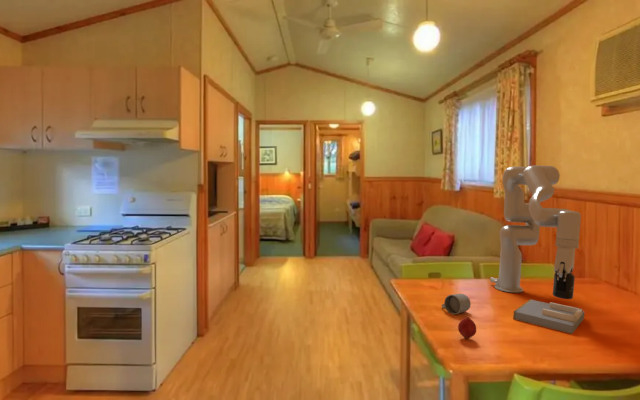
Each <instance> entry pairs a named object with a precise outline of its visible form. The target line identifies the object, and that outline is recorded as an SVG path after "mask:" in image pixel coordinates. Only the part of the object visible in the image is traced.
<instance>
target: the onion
mask: <svg viewBox="0 0 640 400" xmlns="http://www.w3.org/2000/svg"><path fill="white" fill-rule="evenodd" d="M457 329H458V332H459V334H460V335H461V336H462V337H463V338H464V339H465V340H468V339H471V338H473V336H475V334H476V333H477V325H476V323H475V322H474V321H473V319H471V318H470V315H469V316H465V318H462V319H461V321H459V322H458V326H457Z"/></svg>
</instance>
